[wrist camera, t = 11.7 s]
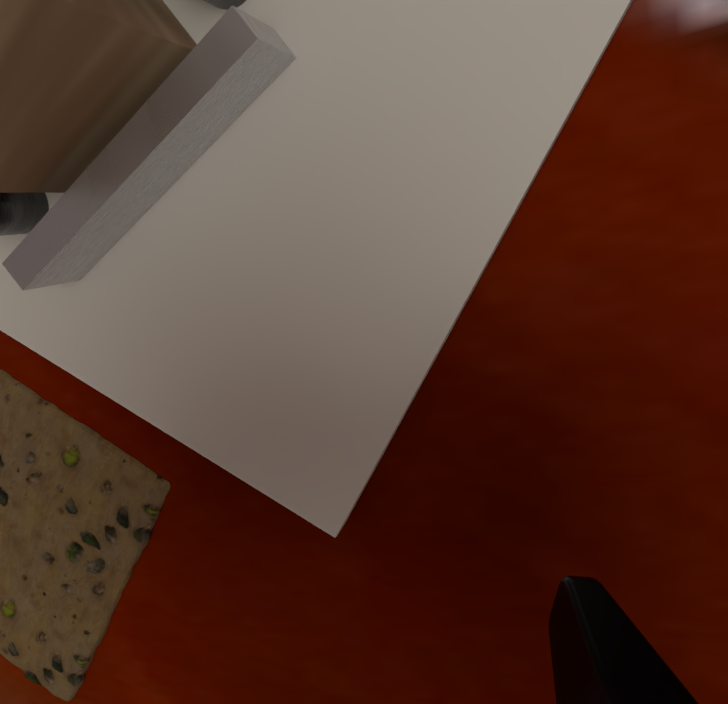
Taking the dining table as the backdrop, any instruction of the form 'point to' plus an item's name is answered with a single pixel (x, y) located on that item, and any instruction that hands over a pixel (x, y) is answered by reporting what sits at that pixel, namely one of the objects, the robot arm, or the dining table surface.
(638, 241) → the dining table surface
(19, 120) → the wooden block
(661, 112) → the dining table surface
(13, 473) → the cookie
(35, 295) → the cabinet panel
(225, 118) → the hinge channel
